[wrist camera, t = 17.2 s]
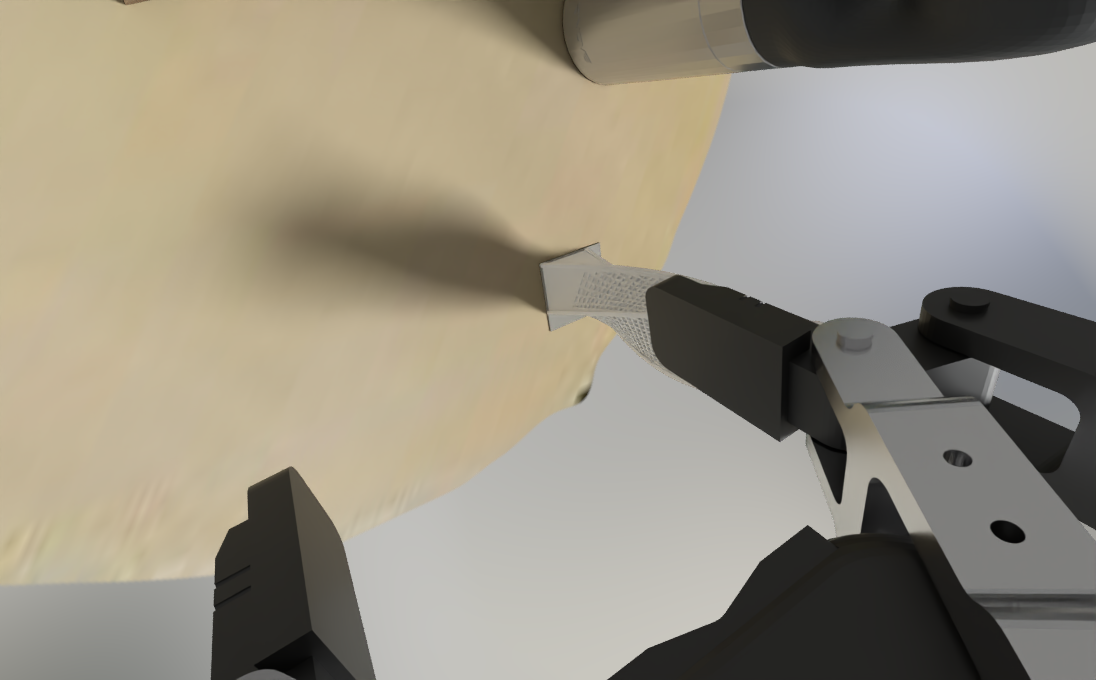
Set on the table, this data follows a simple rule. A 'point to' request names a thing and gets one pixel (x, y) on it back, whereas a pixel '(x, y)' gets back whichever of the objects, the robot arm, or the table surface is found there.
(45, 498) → the table surface
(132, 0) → the base board
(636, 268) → the skyscraper
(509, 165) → the table surface
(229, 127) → the table surface
